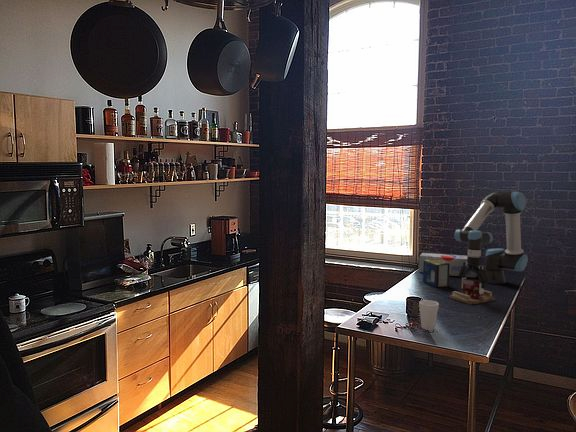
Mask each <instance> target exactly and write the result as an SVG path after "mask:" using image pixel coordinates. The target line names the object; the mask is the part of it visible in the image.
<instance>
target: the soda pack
mask: <svg viewBox="0 0 576 432" xmlns="http://www.w3.org/2000/svg"><path fill="white" fill-rule="evenodd" d="M467 257H468V255H461V254H460V255H459V254H445V253H444V254H443V253H434V252H433V253H430V252H422V253H421V254H420V255H419V263H418V264H419V265H418V272H422V273H421V274H423V266H424V260H432V259H437V260H440V261H443V262H446V263H449V264H450V268H449V276H452V277H453V276H454V277H460V276H459V273H460V271H461V269H462V267H463V263H464V262H467ZM467 268H468V266H467ZM467 268H466V269H467ZM465 271H466V270H465ZM465 277H466V278H476V277H478V276H477V274H476V273H475V272H473V271H470V272H469V273H468V274H467V275H466V276H465Z"/></svg>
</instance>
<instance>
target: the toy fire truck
mask: <svg viewBox="0 0 576 432" xmlns="http://www.w3.org/2000/svg"><path fill="white" fill-rule="evenodd" d="M462 283H463V288H462V292H461V293H463V294H466V295H469V296H470V295H471V294H472V297H473V298H475V299H476V298H478V297H479V296H483V293H482V294H479V288H480V283H481V282H480V280H474V279H469V278H468V279H467V278H466V279H463V280H462V282H461V284H462ZM474 289H475V290H474ZM473 291H474V292H473Z"/></svg>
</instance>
